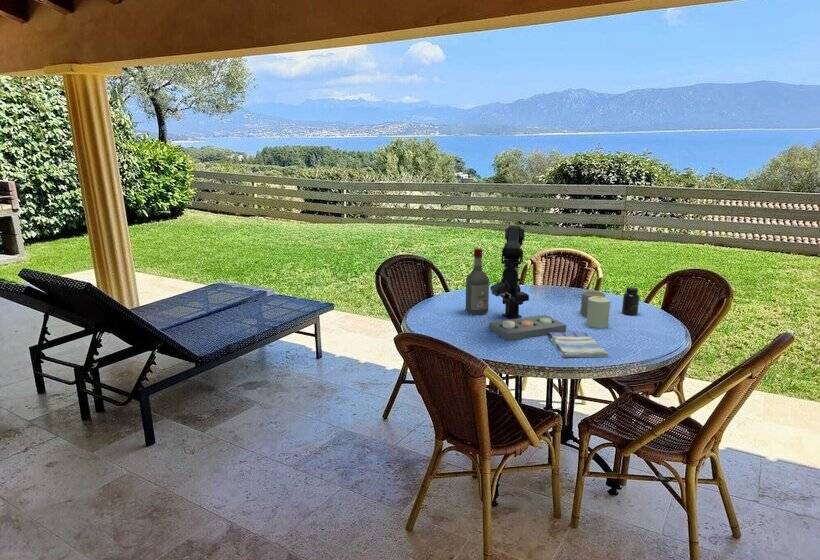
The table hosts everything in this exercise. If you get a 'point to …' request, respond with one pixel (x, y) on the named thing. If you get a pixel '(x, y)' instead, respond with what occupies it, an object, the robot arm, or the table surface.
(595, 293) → the coffee mug
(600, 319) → the sage green canister
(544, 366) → the table surface
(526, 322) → the terracotta button
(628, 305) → the supplement bottle
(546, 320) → the sage button
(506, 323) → the cream button
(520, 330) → the button panel
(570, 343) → the dish towel
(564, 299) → the table surface
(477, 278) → the liquor
